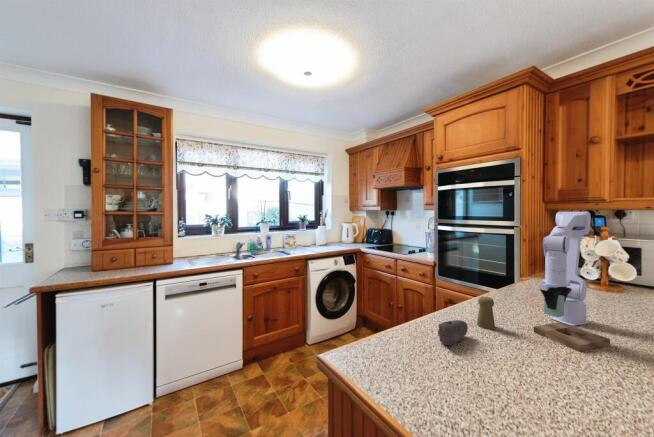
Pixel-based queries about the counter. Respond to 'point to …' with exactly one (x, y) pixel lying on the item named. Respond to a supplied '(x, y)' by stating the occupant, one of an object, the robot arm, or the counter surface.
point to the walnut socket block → (579, 343)
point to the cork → (486, 313)
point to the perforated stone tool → (452, 331)
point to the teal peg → (559, 308)
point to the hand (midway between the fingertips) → (555, 307)
